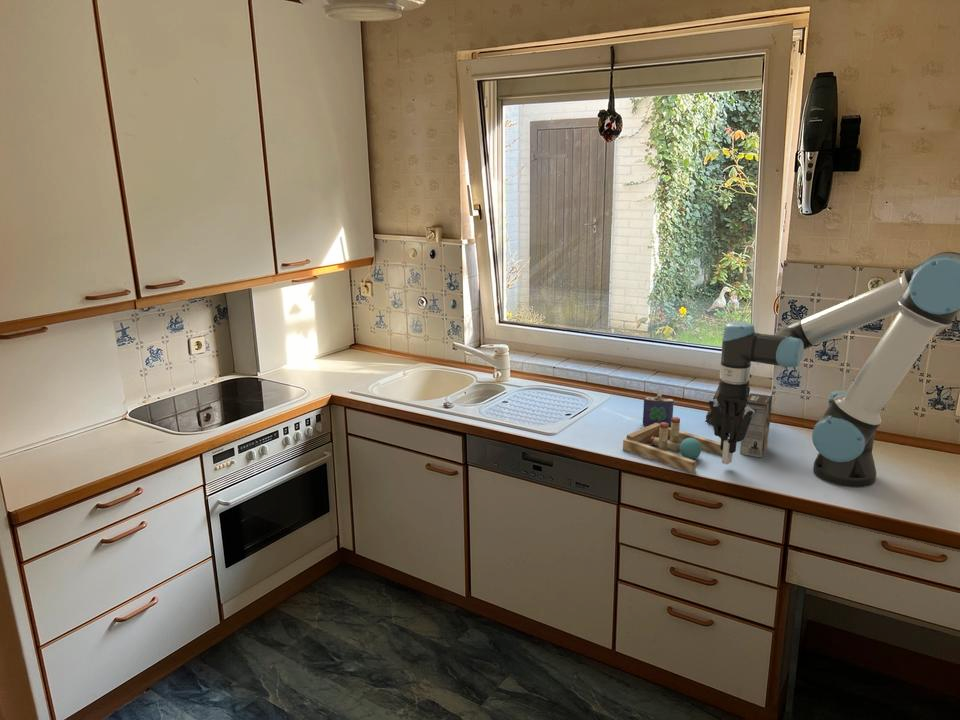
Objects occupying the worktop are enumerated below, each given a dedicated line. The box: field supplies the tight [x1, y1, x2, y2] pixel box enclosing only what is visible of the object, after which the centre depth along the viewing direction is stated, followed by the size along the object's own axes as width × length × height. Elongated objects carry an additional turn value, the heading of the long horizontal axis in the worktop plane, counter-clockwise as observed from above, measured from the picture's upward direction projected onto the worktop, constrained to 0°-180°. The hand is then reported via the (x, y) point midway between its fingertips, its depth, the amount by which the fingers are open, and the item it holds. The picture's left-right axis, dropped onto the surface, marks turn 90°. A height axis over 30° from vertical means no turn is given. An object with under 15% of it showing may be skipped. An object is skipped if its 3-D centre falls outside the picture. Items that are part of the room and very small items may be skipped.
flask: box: [642, 393, 675, 428], centre depth 232 cm, size 9×3×11 cm, turn 78°
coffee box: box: [739, 392, 773, 458], centre depth 211 cm, size 9×6×16 cm
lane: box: [622, 423, 723, 474], centre depth 212 cm, size 23×18×4 cm
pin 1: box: [657, 422, 669, 451], centre depth 211 cm, size 2×2×9 cm
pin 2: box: [669, 416, 681, 444], centre depth 215 cm, size 2×2×9 cm
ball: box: [679, 438, 703, 460], centre depth 207 cm, size 6×6×6 cm
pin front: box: [649, 436, 681, 452], centre depth 215 cm, size 2×2×9 cm
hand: (726, 462), depth 200 cm, fingers closed
